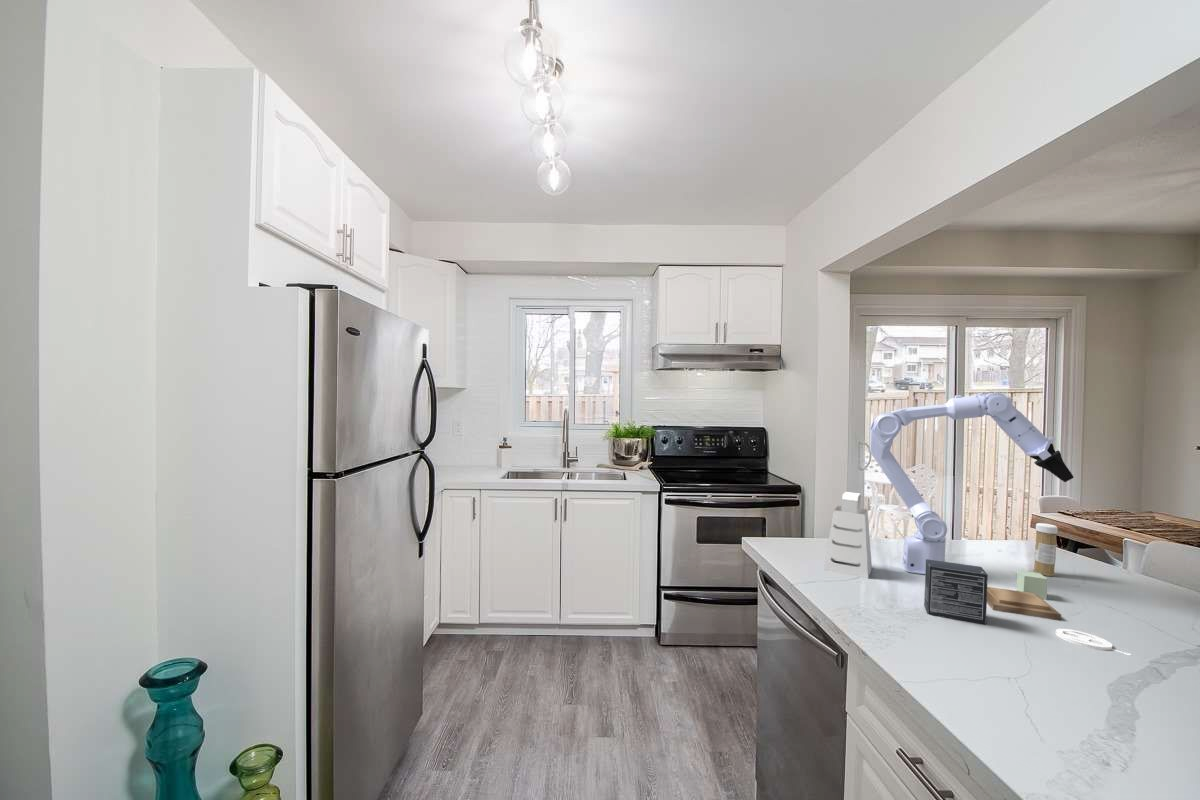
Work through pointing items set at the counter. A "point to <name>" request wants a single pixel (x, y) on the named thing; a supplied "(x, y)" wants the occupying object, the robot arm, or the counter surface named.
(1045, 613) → the walnut base
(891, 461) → the robot arm
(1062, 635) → the pendant
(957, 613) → the small box
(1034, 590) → the sage block
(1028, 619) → the counter surface
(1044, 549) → the sprinkles bottle
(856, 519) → the grater
